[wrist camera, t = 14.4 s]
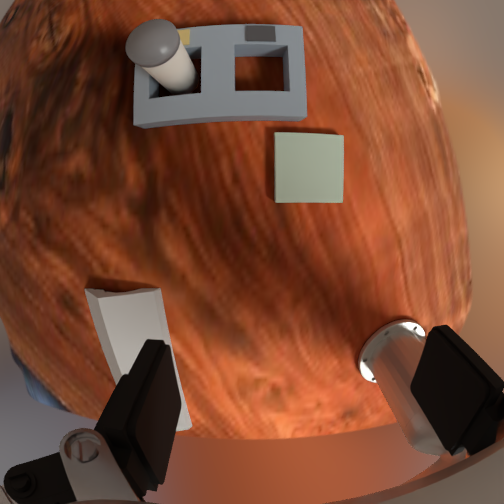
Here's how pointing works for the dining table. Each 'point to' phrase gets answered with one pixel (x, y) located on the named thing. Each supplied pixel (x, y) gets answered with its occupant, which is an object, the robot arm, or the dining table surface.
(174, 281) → the dining table surface
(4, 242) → the dining table surface
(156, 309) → the crown molding
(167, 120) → the socket block
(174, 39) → the plug
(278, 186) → the square base plate
